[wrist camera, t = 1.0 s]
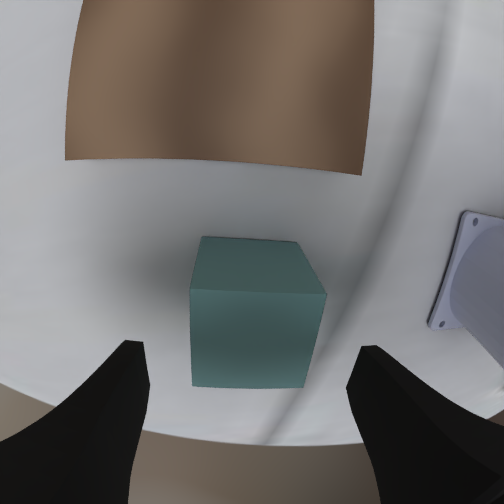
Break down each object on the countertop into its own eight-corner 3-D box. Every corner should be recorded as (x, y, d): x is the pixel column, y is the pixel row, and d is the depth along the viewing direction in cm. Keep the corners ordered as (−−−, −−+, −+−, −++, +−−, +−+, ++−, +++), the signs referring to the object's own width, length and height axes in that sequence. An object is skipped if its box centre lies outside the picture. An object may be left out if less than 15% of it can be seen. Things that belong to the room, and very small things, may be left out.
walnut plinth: (356, -44, 9) (371, -61, 7) (344, 169, 13) (361, 175, 12) (119, -57, 8) (108, -75, 6) (85, 155, 12) (65, 160, 10)
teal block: (297, 242, 15) (326, 294, 10) (284, 321, 16) (303, 387, 12) (201, 236, 14) (189, 288, 10) (200, 317, 16) (192, 386, 11)
